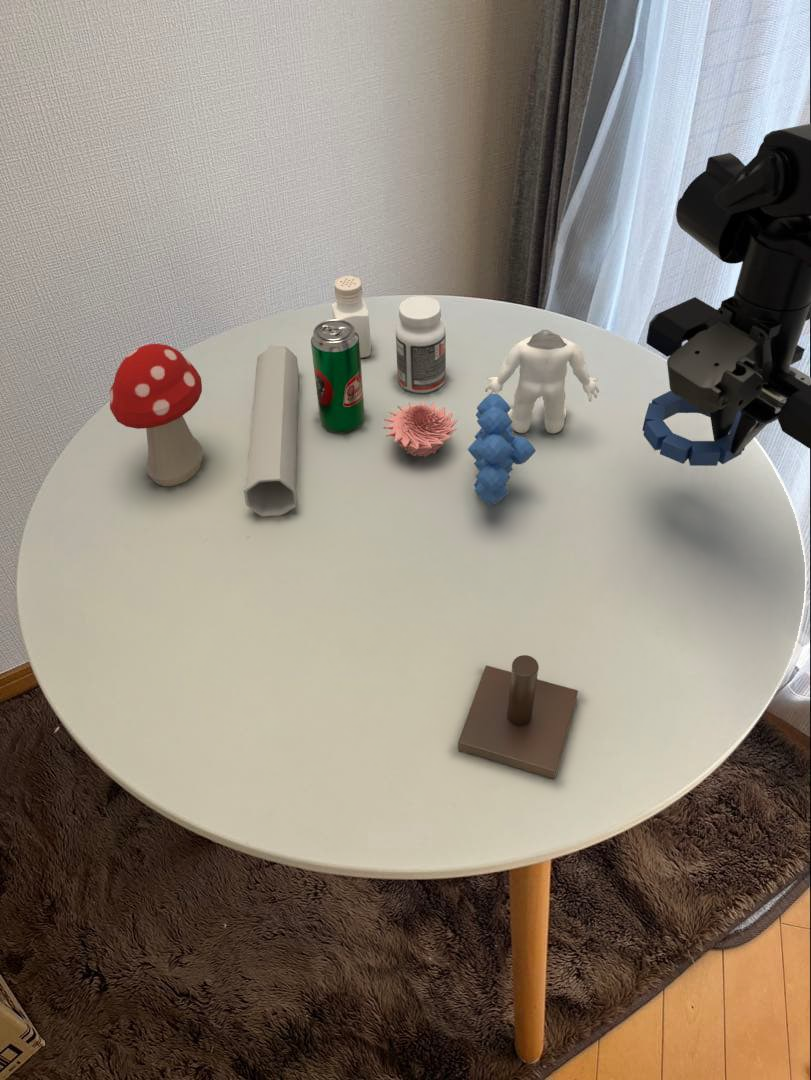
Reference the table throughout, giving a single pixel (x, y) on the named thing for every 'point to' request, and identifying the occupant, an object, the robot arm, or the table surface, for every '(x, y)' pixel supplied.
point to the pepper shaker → (353, 310)
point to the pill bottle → (420, 345)
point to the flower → (421, 428)
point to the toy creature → (542, 378)
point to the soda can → (338, 375)
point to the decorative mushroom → (160, 409)
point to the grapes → (496, 449)
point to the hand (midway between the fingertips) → (727, 446)
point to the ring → (680, 446)
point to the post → (519, 718)
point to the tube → (273, 434)
